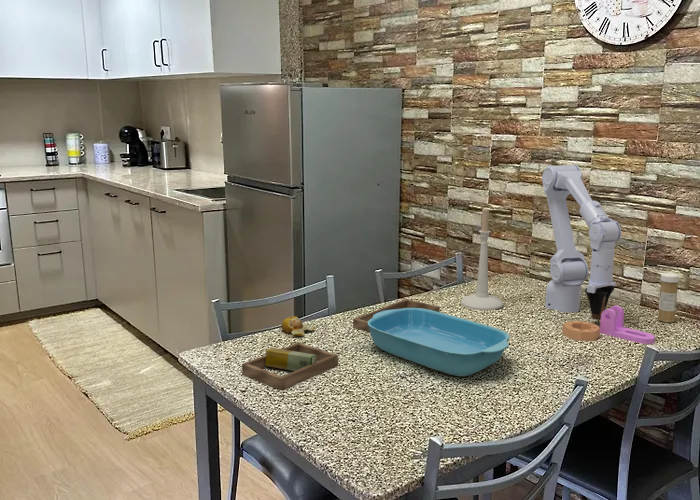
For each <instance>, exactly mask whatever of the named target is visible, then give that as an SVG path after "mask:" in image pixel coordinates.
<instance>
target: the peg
mask: <svg viewBox="0 0 700 500" xmlns="http://www.w3.org/2000/svg"><path fill="white" fill-rule="evenodd" d="M605 298H606V296H605ZM605 298H604V300H603V304H602V308H601V312H600V314H599V315H597V314H592V313H591V316H590V317H591V319H593V320H597V321H598V320H599V321H601V313H602V312H603V311H604V308H605ZM605 309H606V308H605Z"/></svg>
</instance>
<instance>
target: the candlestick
mask: <svg viewBox="0 0 700 500" xmlns="http://www.w3.org/2000/svg"><path fill="white" fill-rule="evenodd" d="M481 212H482V213H481V230H478V232H479V234H480V235H479V238H481V242H480V251H479V260H478V261H479V262H478V269H477V271H478V272H477V282H476V291H475V293H474V294H469V295H466V296H464V297H463V298H461V300H460V305H462V306H463V307H465V308H467V309H470V310H476V311H477V310H478V311H495V310H499V309H501V308H502V307H504V303H503V301H502V300H501V299H500V298H498V297H497V296H494V295H491V294H489V267H488V266H489V265H488V264H489V261H488V260H489V258H488V250H489V249H488V248H489V246H488V244H489V243H488V238H489V237H490V233H491V232H492V231H491V230H489V223H490V222H489V219H490V217H489V215H490V209H489V208H482V209H481Z"/></svg>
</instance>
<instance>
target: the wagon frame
mask: <svg viewBox="0 0 700 500" xmlns="http://www.w3.org/2000/svg"><path fill="white" fill-rule="evenodd" d="M403 308H422V309H428V310H432V311H436V312H440V313H441V307H440V306H439V305H434V304H431V303H426V302H421V301H417V300H413V299H408V298H405V299H402V300H400V301H397V302H394V303H392V304H390V305H387V306H384V307H382V308H379V309H376V310H373V311H371V312H367V313H366V314H363V315H360V316H358V317H357V316H356V317H355V318H353V319H352V327H353V329H356V330H360V331H364V332H366V333H370V330H369V327H368V321H369V320H370V319H372V318H373V315H374V314H376V313H378V312H381V311H385V310H393V309H403Z"/></svg>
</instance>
